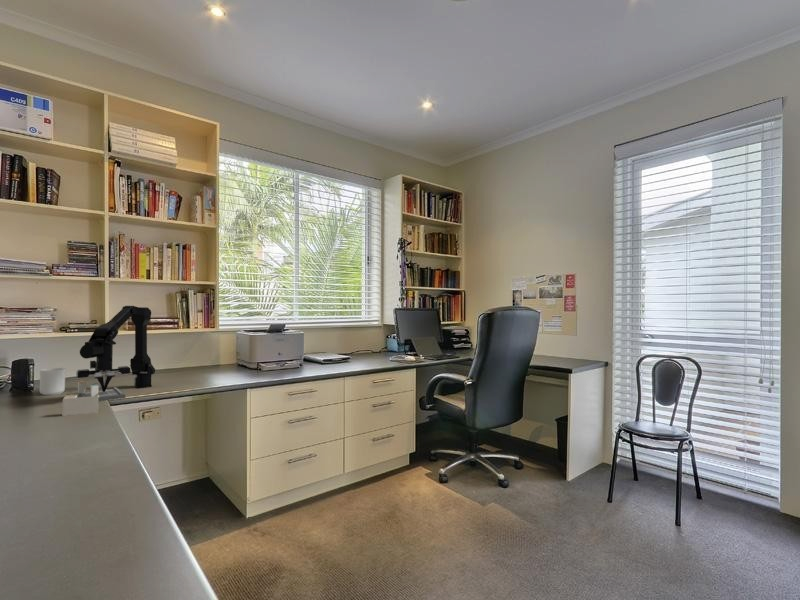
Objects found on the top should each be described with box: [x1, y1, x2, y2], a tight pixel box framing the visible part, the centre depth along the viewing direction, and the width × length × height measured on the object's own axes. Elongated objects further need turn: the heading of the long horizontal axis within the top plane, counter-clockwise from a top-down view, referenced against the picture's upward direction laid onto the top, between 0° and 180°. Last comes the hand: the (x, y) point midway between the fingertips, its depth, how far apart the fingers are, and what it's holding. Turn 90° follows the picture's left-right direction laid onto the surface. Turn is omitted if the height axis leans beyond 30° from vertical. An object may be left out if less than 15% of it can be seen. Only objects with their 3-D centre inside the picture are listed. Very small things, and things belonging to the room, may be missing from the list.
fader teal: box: [89, 382, 100, 396], centre depth 177 cm, size 2×4×5 cm, turn 43°
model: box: [61, 393, 100, 417], centre depth 155 cm, size 3×11×8 cm, turn 118°
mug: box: [39, 367, 66, 396], centre depth 190 cm, size 12×9×11 cm
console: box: [65, 387, 126, 402], centre depth 181 cm, size 19×18×2 cm
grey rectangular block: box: [77, 380, 87, 394], centre depth 182 cm, size 2×4×5 cm, turn 43°
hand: (103, 391), depth 179 cm, fingers closed
